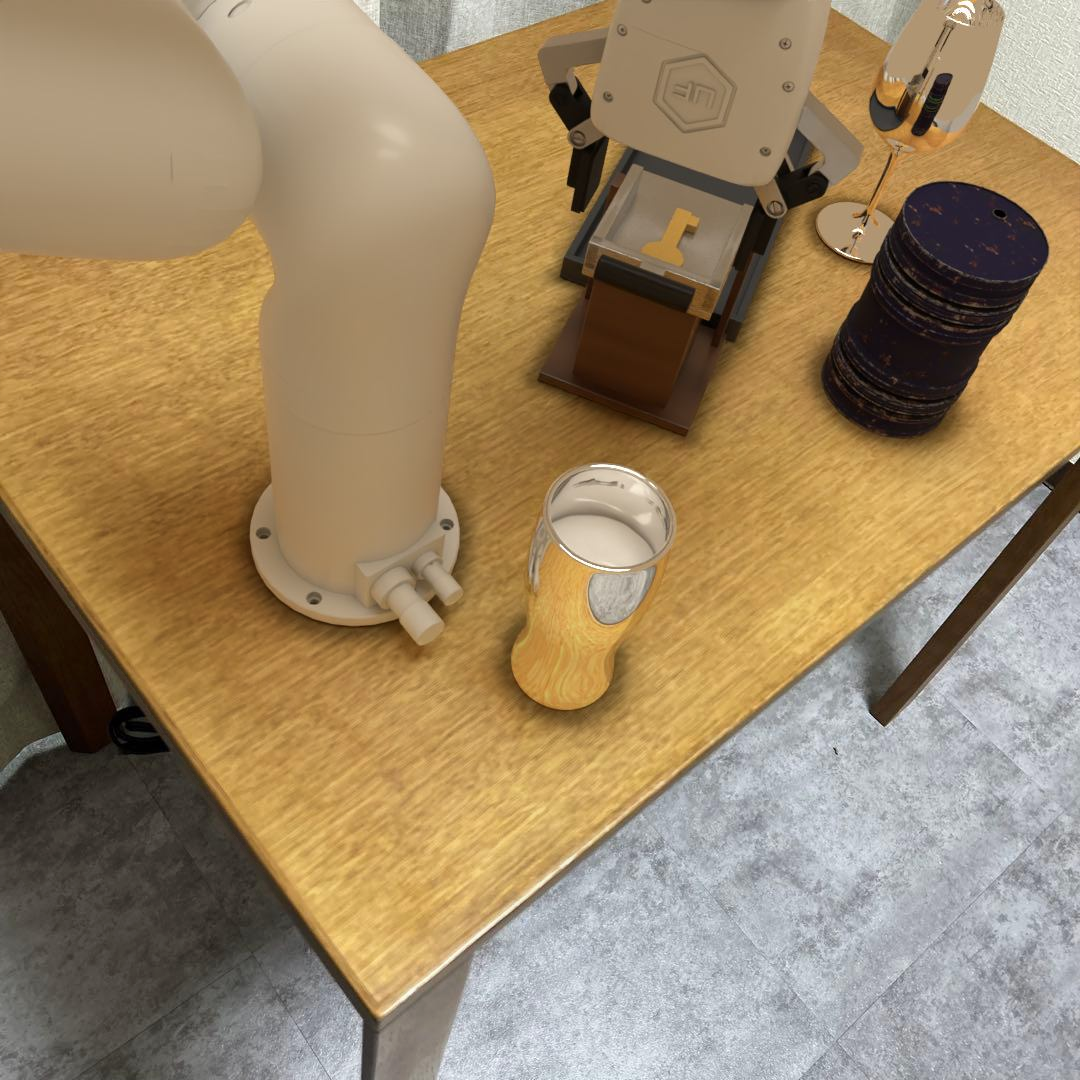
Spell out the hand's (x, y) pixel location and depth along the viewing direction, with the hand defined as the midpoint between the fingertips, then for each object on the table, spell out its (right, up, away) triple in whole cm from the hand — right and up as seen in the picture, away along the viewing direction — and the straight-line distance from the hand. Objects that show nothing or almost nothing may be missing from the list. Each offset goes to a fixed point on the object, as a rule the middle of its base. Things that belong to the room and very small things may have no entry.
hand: (663, 227), depth 63 cm
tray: (+6, +11, +30) cm, 32 cm away
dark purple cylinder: (+19, -7, +20) cm, 28 cm away
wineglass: (+20, +8, +30) cm, 37 cm away
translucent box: (+1, +1, +9) cm, 9 cm away
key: (+1, +1, +9) cm, 9 cm away
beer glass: (-6, -25, +3) cm, 26 cm away
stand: (0, -5, +18) cm, 18 cm away
